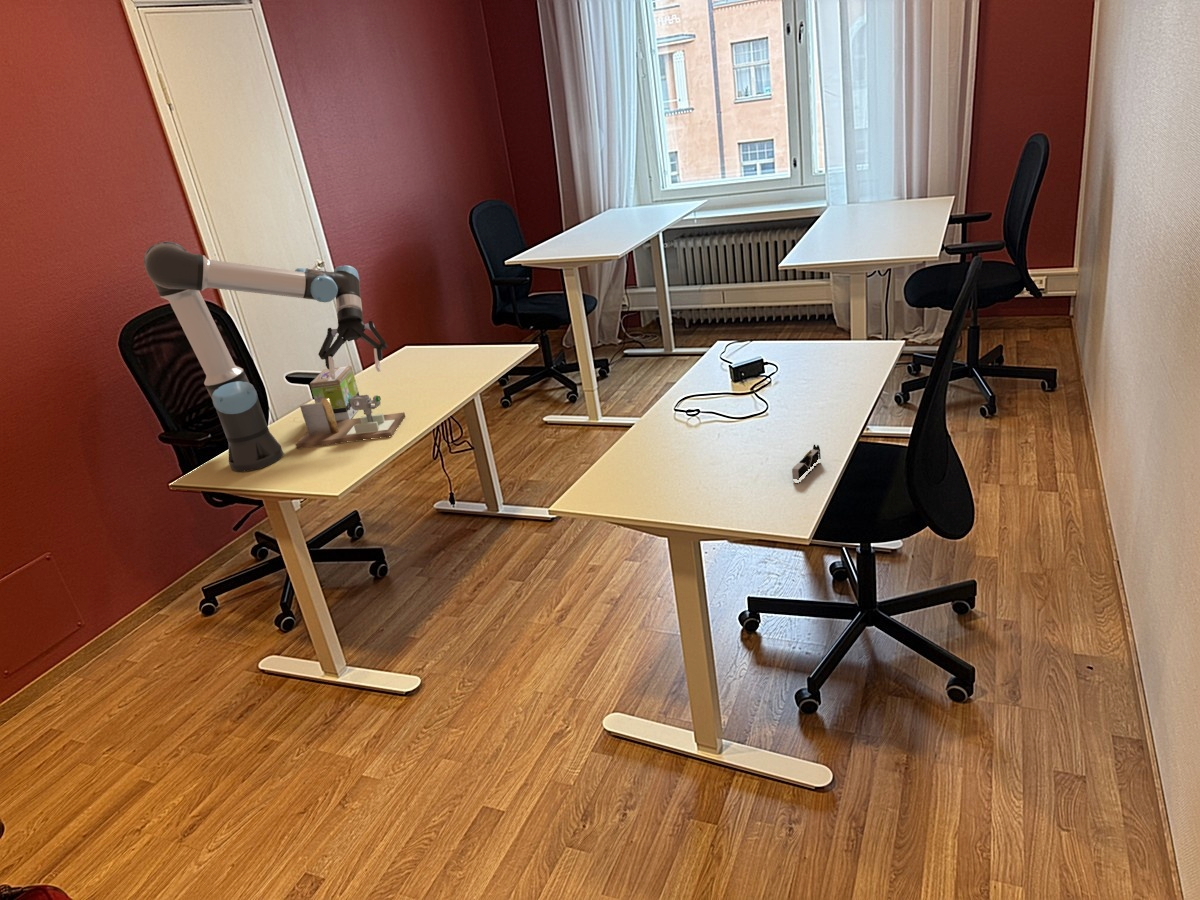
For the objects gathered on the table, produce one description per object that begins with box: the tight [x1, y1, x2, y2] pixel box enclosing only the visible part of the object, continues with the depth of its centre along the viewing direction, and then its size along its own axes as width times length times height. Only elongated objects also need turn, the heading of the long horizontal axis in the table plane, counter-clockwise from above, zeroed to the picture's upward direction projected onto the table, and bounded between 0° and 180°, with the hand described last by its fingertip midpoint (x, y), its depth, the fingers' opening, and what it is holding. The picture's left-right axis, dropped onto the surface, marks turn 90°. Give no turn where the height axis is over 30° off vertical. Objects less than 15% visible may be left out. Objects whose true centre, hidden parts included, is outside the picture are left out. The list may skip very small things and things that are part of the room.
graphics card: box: [791, 444, 821, 480], centre depth 182 cm, size 12×3×5 cm, turn 142°
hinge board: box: [295, 398, 406, 449], centre depth 248 cm, size 30×16×12 cm, turn 88°
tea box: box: [309, 365, 360, 421], centre depth 264 cm, size 15×10×15 cm
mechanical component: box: [348, 394, 382, 422], centre depth 246 cm, size 3×10×10 cm, turn 76°
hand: (355, 373), depth 240 cm, fingers open, 13 cm apart
